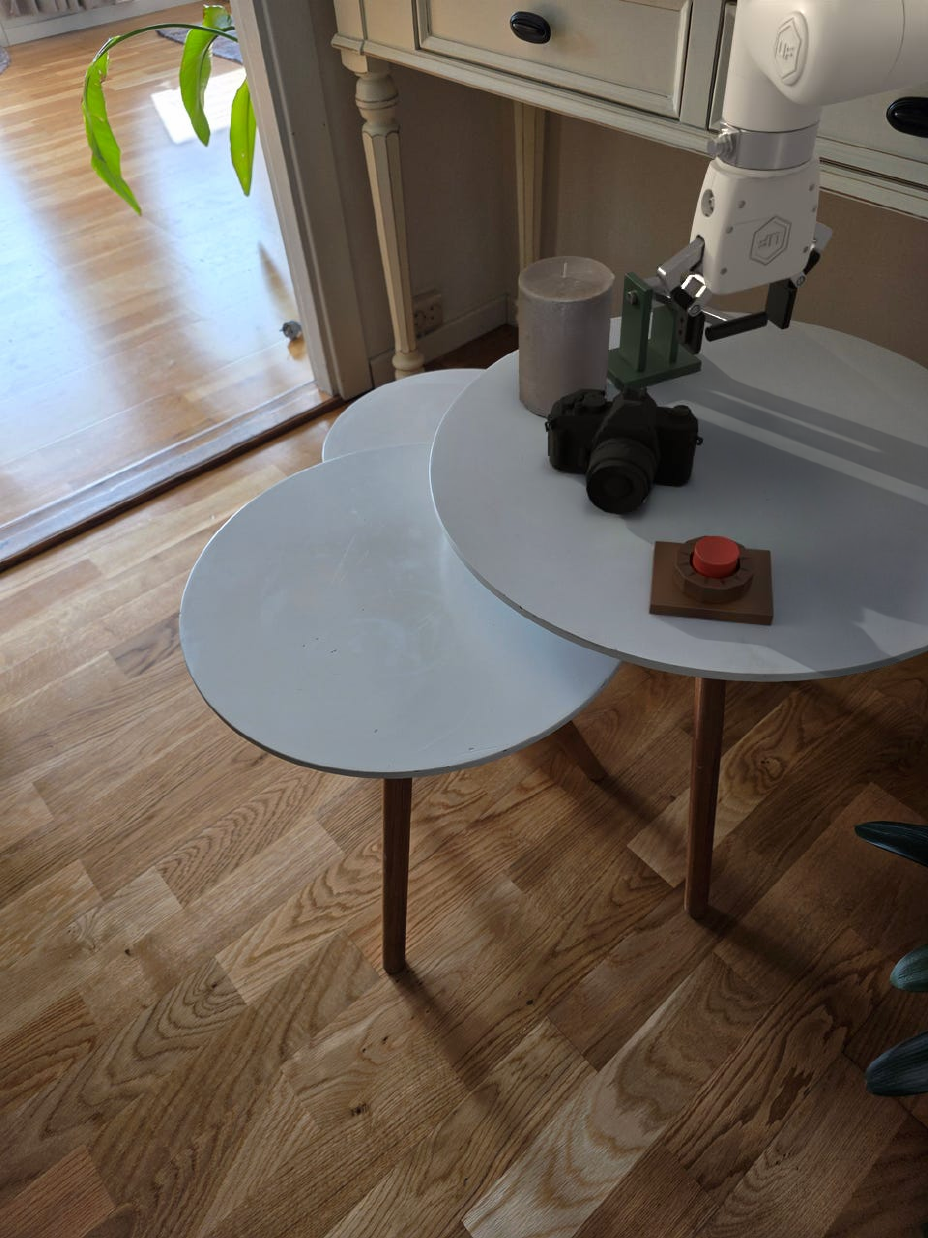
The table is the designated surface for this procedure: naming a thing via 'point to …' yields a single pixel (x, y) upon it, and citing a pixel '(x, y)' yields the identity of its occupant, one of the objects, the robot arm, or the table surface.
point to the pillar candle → (563, 329)
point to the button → (715, 557)
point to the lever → (711, 315)
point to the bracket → (647, 340)
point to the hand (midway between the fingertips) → (732, 335)
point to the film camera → (621, 445)
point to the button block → (711, 586)
